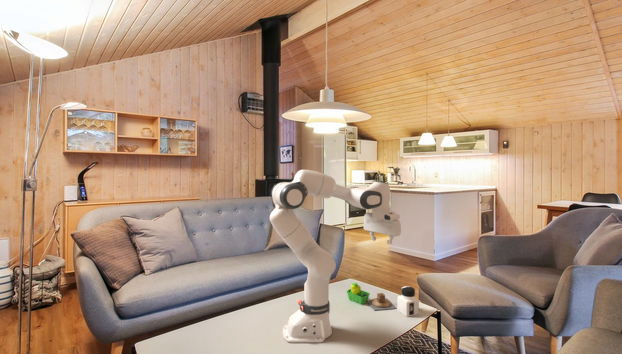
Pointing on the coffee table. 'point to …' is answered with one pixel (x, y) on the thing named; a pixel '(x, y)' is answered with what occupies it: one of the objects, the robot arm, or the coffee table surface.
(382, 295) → the lid
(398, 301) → the container
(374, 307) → the mat
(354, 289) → the fruit basket
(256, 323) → the coffee table surface
